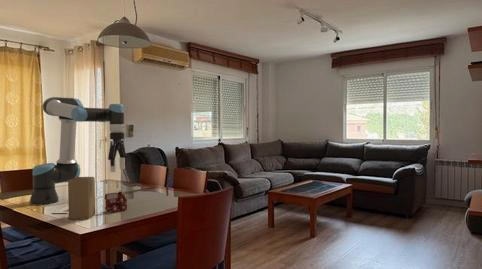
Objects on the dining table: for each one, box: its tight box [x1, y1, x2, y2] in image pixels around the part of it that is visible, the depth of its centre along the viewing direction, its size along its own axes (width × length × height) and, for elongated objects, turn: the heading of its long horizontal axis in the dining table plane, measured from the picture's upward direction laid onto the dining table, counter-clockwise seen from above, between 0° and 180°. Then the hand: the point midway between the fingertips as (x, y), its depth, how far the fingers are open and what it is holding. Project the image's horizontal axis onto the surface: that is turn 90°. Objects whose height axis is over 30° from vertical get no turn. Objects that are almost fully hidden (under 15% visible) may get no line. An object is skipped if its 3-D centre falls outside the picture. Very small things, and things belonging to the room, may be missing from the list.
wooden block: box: [67, 176, 96, 220], centre depth 171 cm, size 10×10×20 cm
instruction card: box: [53, 205, 69, 213], centre depth 187 cm, size 13×18×1 cm
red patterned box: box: [104, 190, 128, 214], centre depth 183 cm, size 7×12×10 cm, turn 138°
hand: (117, 170), depth 186 cm, fingers open, 13 cm apart
